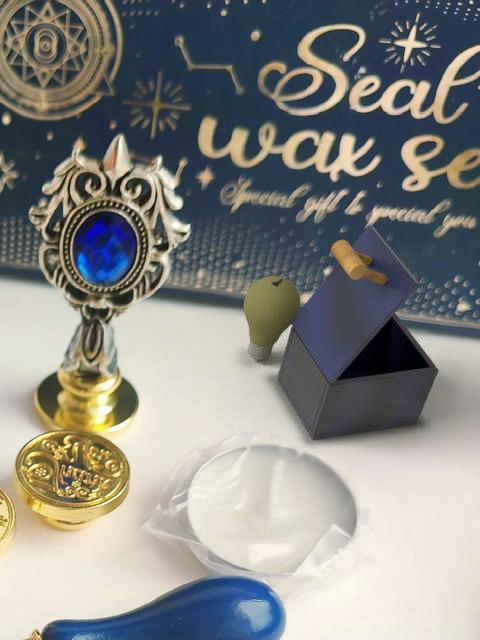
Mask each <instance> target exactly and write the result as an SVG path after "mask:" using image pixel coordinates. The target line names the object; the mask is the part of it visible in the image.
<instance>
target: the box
mask: <svg viewBox="0 0 480 640" xmlns="http://www.w3.org/2000/svg"><path fill="white" fill-rule="evenodd" d="M286 341H287V342H286V344H285V346H286V347H285V348H284V353H283V356H282V360H281V363H280V366H279V370H278V373H277V377H276V382H277V383H278V385H279V386H280V389H281V390H282V391H283V393H284V395H285V396H286V398H287V400H288V401H289V403H290V405H291V407H292V408H293V409H294V411H295V413H296V415H297V416H298V418H299V419H300V421H301V423H302V425H303V427H304V428H305V430H306V431H307V433H308V435H309V436H310V438H311V440H318V439H326V438H327V439H328V438H333V437H339V436H346V435H354V434H359V433H364V432H365V433H366V432H367V433H368V432H374V431H380V430H387V429H393V428H400V427H406V426H413V425H417V423H418V422H419V419H420V418H421V417H420V416H421V414H422V412H423V410H424V407H425V405H426V402H427V400H428V397H429V395H430V393H431V391H432V388H433V386H434V383H435V381H436V378H437V376H438V374H439V371H440V370H439V368H438V367H437V366H436V364H435V363H434V362H433V360H432V359H431V358H430V356H429V355H428V354H427V352H426V351H425V350H424V349H423V347H422V345H420V343H419V342H418V340H417V339H416V338H415V336H414V335H413V334H412V332H410V330H409V329H408V327H407V326H406V325H405V323H404V322H403V321H402V319H401V318H400V317H399V316H398V314H397V312H395V314H394V315H393V316H392V317H391V318H390V319H389V320H388V321H387V323H386V324H385V325H384V326H383V327H382V328H381V329H380V331H379V332H378V333H377V334H376V335H375V336H374V337H373V339H372V340H371V341H370V342H369V343H368V344H367V345H366V347H365V348H364V349H363V350H362V351H361V352H360V353H359V354H358V356H357V357H356V358H355V359H354V360H353V361H352V362H351V364H350V365H349V366H348V367H347V368H346V369H345V370H344V372H343V373H342V374H341V375H340V376H339V377H338V378H337V379H336V381H335V382H334V383H331V382H329V381H328V380H327V378H326V377H325V375H324V373H323V372H322V370H321V369H320V367H319V366H318V364H317V363H316V361H315V360H314V358H313V357H312V355H311V353H310V352H309V350H308V349H307V347H306V346H305V344H304V343H303V341H302V340H301V338H300V337H299V335H298V334H297V332H296V330H295V329H294V327H293V326H292V325H291V327H290V330H289V335H288V338H287V340H286Z"/></svg>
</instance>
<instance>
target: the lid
mask: <svg viewBox="0 0 480 640" xmlns="http://www.w3.org/2000/svg"><path fill="white" fill-rule="evenodd" d="M330 252H331V254H332V255H333V256H334V258H335V259H336V260H337V262H338V263H337V265H336V266H334V268H333V269H332V270H331V271H330V273H329V274H328V275H327V277H326V278H325V279H324V281H322V283H321V284H320V285H319V287H318V288H317V289H316V290H315V292H314V293H313V294H312V295H311V296H310V298H309V299H308V300H307V301H306V302H305V304H304V305H303V306H302V307H301V308H300V310H299V313H298V314H297V315H296V316H295V317H294V319H293V320H292V321H291V327H292V326H293V327H294V329H295V330H296V332H297V334H298V335H299V337H300V338H301V340H302V341H303V343H304V344H305V346H306V347H307V349H308V350H309V352H310V353H311V355H312V357H313V358H314V360H315V361H316V363H317V364H318V366H319V367H320V369H321V370H322V372H323V373H324V375H325V377H326V378H327V380H328V381H329V382H331V383H334V382H335V381H336V379H337V378H338V377H339V376H340V375H341V374H342V373H343V372H344V370H345V369H346V368H347V367H348V366H349V365H350V364H351V362H352V361H353V360H354V359H355V358H356V357H357V356H358V354H359V353H360V352H361V351H362V350H363V349H364V348H365V347H366V345H367V344H368V343H369V342H370V341H371V340H372V339H373V337H374V336H375V335H376V334H377V333H378V332H379V331H380V329H381V328H382V327H383V326H384V325H385V324H386V323H387V321H388V320H389V319H390V318H391V317H392V316H393V315H394V314H395V313H397V311H398V310H400V309H401V307H402V306H403V305H404V303H406V301H407V300H408V299H409V298H410V296H411V295H412V294H413V293H414V292H415V291H416V290H417V289H418V288H419V287H420V285H421V284H420V282H419V281H418V280H417V279H416V278H415V276H414V275H413V274H412V272H411V271H410V270H409V269H408V268H407V266H406V265H405V264H404V263H403V261H402V260H401V259H400V258H399V256H398V255H397V254H396V253H395V251H394V250H393V249H392V247H390V245H389V244H388V242H386V241H385V239H384V238H383V237H382V236H381V234H380V233H379V232H378V230H377V229H376V228H375V227H374V226H372V225H368V226H367V227H366V229H365V230H364V231H363V233H361V235H360V236H359V237H358V238H357V240H356V241H355V242H354V243H353V244H352V245H350V243H349V242H348V241H347V240H346V239H339V240H337V241H335V242H334V243H333V244H332V245H331V248H330Z"/></svg>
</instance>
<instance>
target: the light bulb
mask: <svg viewBox="0 0 480 640" xmlns="http://www.w3.org/2000/svg"><path fill="white" fill-rule="evenodd" d="M300 310H301V296H300V292H299V290H298V288H297V287H296V286H295V284H294V283H293V282H292V281H290V280H289V279H287V278H285V277H283V276H278V275H269V276H264V277H262V278H260V279H258V280H256V281H255V282H254V283H253V284H252V285H251V286H250V287H249V288H248V290H247V292H246V294H245V296H244V299H243V313H244V317H245V320H246V322H247V326H248V333H249V334H248V336H249V344H248V349H247V354H248V356H250V358H252V359H254V360H255V361H257V362H259V361H265V360H268V359H269V358H270V357H271V355H272V352H273V351H272V350H273V348H274V345H275V344H277V342H278V341H279V339H280V338H281V335H282V334H283V333H284V332H285V331H286V330H287V329H288V328H290V326H292V324H291V321H292V320H293V319H294V317H295V316H296V315H297V314H298V313H299V311H300Z"/></svg>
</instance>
